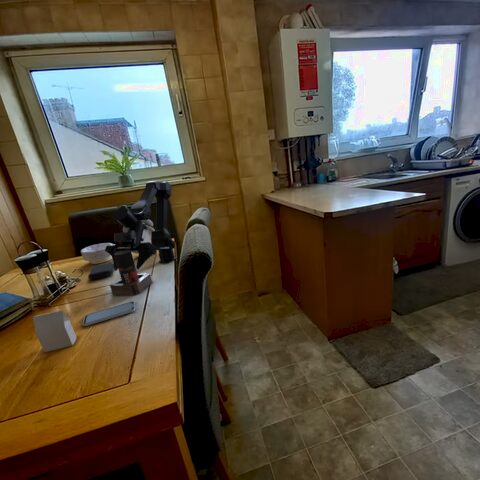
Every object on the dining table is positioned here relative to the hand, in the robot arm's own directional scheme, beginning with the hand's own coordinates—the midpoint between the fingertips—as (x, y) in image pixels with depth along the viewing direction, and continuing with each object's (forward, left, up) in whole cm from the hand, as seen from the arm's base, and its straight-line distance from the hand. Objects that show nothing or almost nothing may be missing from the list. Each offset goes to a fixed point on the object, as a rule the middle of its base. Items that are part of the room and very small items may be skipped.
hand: (126, 269), depth 105 cm
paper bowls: (-22, -51, -8) cm, 56 cm away
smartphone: (+16, +10, -8) cm, 21 cm away
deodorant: (-1, 0, -8) cm, 9 cm away
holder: (-1, 0, -8) cm, 8 cm away
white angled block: (+32, +11, -8) cm, 35 cm away
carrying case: (-9, -30, -8) cm, 33 cm away
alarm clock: (-35, -32, -8) cm, 48 cm away
